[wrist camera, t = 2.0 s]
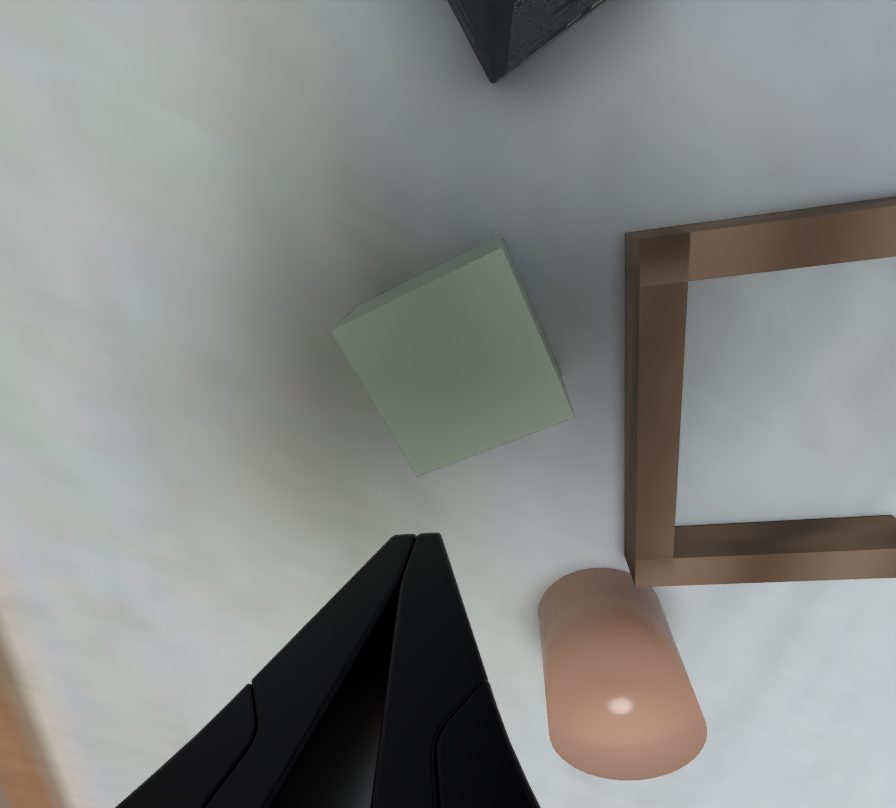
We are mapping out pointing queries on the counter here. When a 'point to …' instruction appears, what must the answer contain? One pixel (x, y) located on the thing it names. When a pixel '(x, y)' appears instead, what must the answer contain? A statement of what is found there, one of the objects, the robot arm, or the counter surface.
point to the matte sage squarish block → (456, 359)
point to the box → (515, 28)
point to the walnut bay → (660, 394)
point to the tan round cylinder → (615, 679)
